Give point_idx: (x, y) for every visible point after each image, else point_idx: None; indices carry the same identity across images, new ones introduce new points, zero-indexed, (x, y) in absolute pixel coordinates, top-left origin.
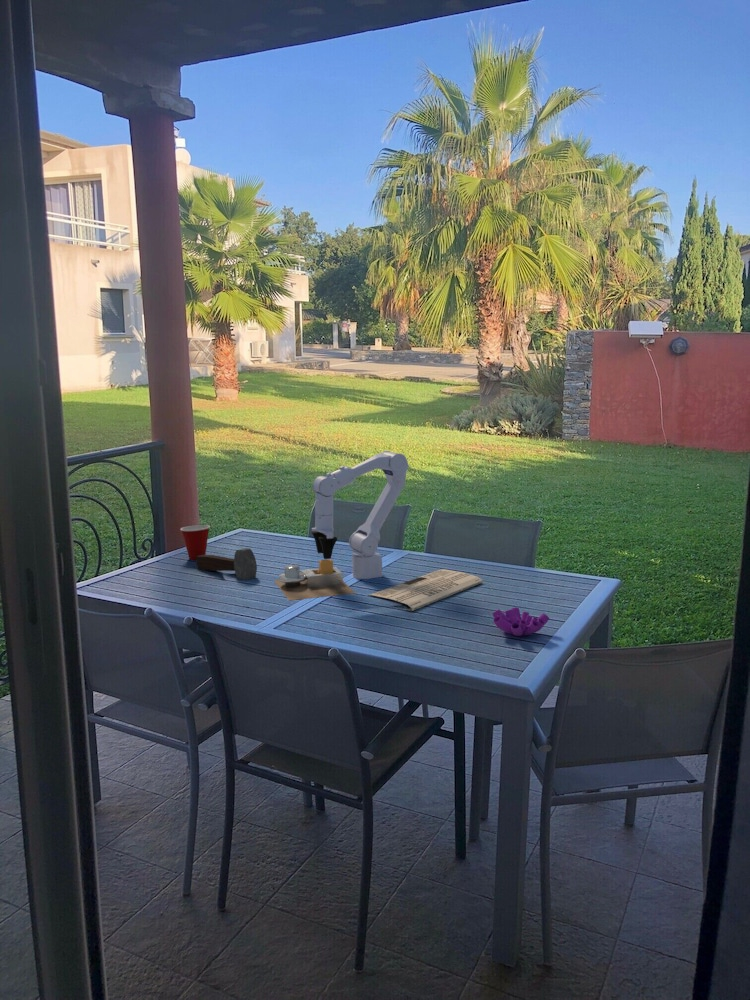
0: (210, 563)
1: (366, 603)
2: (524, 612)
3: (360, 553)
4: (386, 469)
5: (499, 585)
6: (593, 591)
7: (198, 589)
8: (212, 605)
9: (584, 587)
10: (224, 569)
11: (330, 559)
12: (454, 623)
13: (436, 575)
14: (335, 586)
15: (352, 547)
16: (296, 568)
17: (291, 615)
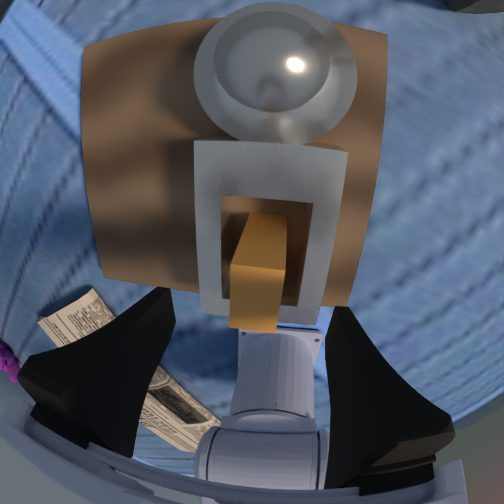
0: None
1: (72, 272)
2: (11, 375)
3: (231, 426)
4: None
5: (163, 444)
6: (133, 455)
7: None
8: None
9: (146, 460)
10: None
11: (270, 329)
12: (16, 329)
13: (201, 436)
14: (184, 248)
15: (310, 436)
16: (218, 78)
17: (32, 64)
